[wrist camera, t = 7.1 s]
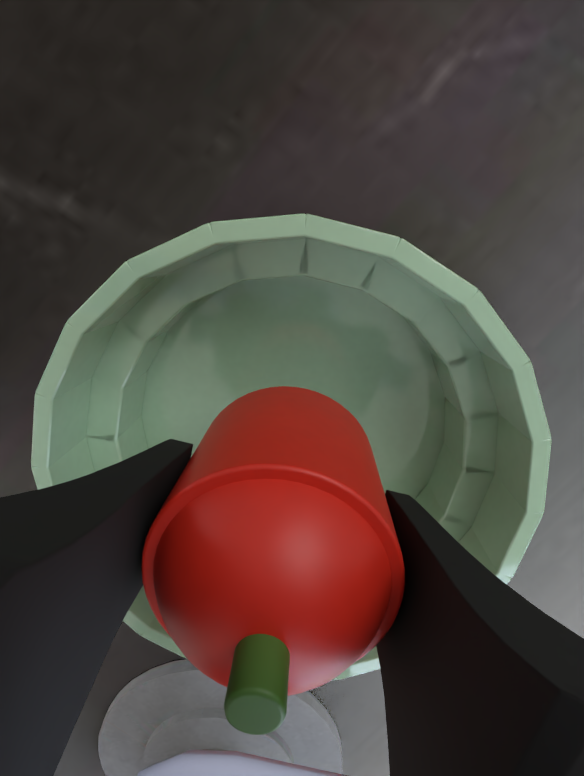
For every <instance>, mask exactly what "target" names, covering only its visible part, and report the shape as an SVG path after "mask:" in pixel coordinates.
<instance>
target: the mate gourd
mask: <svg viewBox="0 0 584 776" xmlns="http://www.w3.org/2000/svg"><path fill="white" fill-rule="evenodd" d="M226 691H227V687H225V686H223V685H221V684H219V683H217V682H216V681H214V680H212V679H211V678H209V677H208V676H206V675H205V674H204V673H202V672H201V671H200V670H198V669H197V668H196V667H195V666H194V665H193V664H192V663H191V662H190V661H189V660H188V659H185V660H178V661H172V662H169V663H166V664H164V665H161V666H158V667H155V668H152V669H150V670H148V671H146V672H145V673H143V674H141V675H139V676H138V677H136V678H134V679H133V680H132V681H131V682H129V683H128V684H127V685H126V686H125V687H124V688H123V689H122V690H121V691H120V692H119V693H118V694H117V696H116V698H115V699H114V701H113V702H112V704H111V705H110V707H109V709H108V711H107V713H106V716H105V718H104V720H103V724H102V727H101V730H100V733H99V743H98V753H99V757H100V761H101V765H102V769H103V771H104V773H105V775H106V776H137V775H138V773H139V772H140V771H141V770H143V769H145V768H147V767H149V766H151V765H153V764H155V763H158V762H160V761H163V760H165V759H168V758H170V757H173V756H175V755H177V754H180V753H182V752H185V751H187V750H212V751H238V752H242V753H247V754H252V755H256V756H261V757H265V758H270V759H274V760H279V761H284V762H288V763H293V764H297V765H302V766H306V767H311V768H315V769H320V770H325V771H329V772H334V773H338V774H342V746H341V740H340V737H339V733H338V730H337V727H336V724H335V723H334V721H333V719H332V718H331V716H330V714H329V713H328V711H327V709H326V708H325V707H324V706H323V705H322V704H321V703H320V702H319V701H318V700H317V698H316V697H315V696H314V695H313V694H312V693H310V692H309V691H305V692H303V693H299V694H295V695H290V696H288V697H287V713H286V717H285V719H284V721H283V723H282V725H281V726H280V727H279V728H278V729H277V730H275V731H273V732H271V733H268V734H264V735H251V734H246V733H243V732H241V731H239V730H237V729H235V728H234V727H233V726H232V725H231V724H230V723H229V722H228V720H227V719H226V716H225V712H224V701H225V696H226Z"/></svg>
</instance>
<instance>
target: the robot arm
mask: <svg viewBox="0 0 584 776" xmlns="http://www.w3.org/2000/svg"><path fill="white" fill-rule="evenodd" d="M192 448H193V444H191V443H187V442H183V441H178V440H174V439H169V440H166V441H164V442H162V443H159V444H157V445H155V446H153V447H151V448H149V449H147V450H145V451H143V452H141V453H138V454H136V455H134V456H132V457H130V458H128V459H125V460H123V461H121V462H119V463H116V464H114V465H111V466H109V467H106V468H103V469H101V470H98V471H96V472H93V473H91V474H88V475H86V476H83V477H80V478H77V479H74V480H71V481H67V482H64V483H61V484H57V485H54V486H50V487H47V488H43V489H39V490H34V491H30V492H25V493H20V494H16V495H11V496H6V497H1V498H0V776H53V775H54V772H55V770H56V768H57V765H58V763H59V761H60V758H61V756H62V754H63V751H64V749H65V747H66V744H67V742H68V740H69V737H70V735H71V733H72V730H73V728H74V726H75V723H76V721H77V719H78V717H79V714H80V712H81V710H82V708H83V705H84V703H85V701H86V699H87V696H88V694H89V692H90V690H91V687H92V685H93V683H94V681H95V678H96V676H97V674H98V672H99V669H100V667H101V665H102V663H103V661H104V659H105V656H106V654H107V652H108V650H109V648H110V645H111V643H112V641H113V639H114V637H115V635H116V633H117V631H118V629H119V627H120V625H121V623H122V621H123V619H124V617H125V615H126V614H127V612H128V610H129V609H130V607H131V605H132V603H133V602H134V600H135V598H136V596H137V595H138V593H139V591H140V590H141V588H142V586H143V580H142V567H141V565H142V552H143V547H144V543H145V539H146V536H147V534H148V531H149V529H150V526H151V524H152V522H153V521H154V519H155V517H156V516H157V514H158V512H159V511H160V509H161V507H162V506H163V504H164V502H165V501H166V499H167V497H168V496H169V494H170V492H171V490H172V489H173V487H174V485H175V484H176V482H177V480H178V479H179V477H180V475H181V474H182V472H183V470H184V469H185V467H186V465H187V464H188V462H189V460H190V459H191V454H192ZM385 497H386V500H387V504H388V507H389V510H390V514H391V517H392V521H393V524H394V528H395V531H396V535H397V538H398V542H399V545H400V548H401V552H402V556H403V562H404V567H405V586H404V594H403V599H402V602H401V605H400V608H399V612H398V614H397V616H396V618H395V620H394V622H393V624H392V626H391V628H390V629H389V631H388V632H387V633H386V635H385V636H384V638H383V639H382V640H381V641H380V642H379V643H378V644H377V645H376V647H377V652H378V658H379V663H380V669H381V674H382V682H383V689H384V697H385V710H386V722H387V734H388V749H389V765H390V776H584V639H583V638H582V637H580V636H578V635H577V634H575V633H574V632H572V631H571V630H569V629H568V628H566V627H565V626H563V625H562V624H560V623H559V622H557V621H556V620H554V619H553V618H551V617H550V616H548V615H547V614H545V613H544V612H542V611H541V610H540V609H538V608H537V607H535V606H534V605H533V604H531V603H530V602H529V601H527V600H526V599H525V598H523V597H522V596H521V595H519V594H518V593H517V592H516V591H514V590H513V589H512V588H510V587H509V586H508V585H506V584H505V583H504V582H503V581H501V580H500V579H499V578H498V577H497V576H495V575H494V574H493V573H492V572H491V571H489V570H488V569H487V568H486V567H485V566H484V565H483V564H482V563H480V562H479V561H478V560H477V559H476V558H475V557H474V556H472V555H471V554H470V553H469V552H468V551H467V550H466V549H465V548H464V547H463V546H462V545H461V544H460V543H459V542H458V541H457V540H455V539H454V538H453V537H452V536H451V535H450V534H449V533H448V532H447V531H446V530H445V529H444V528H443V527H442V526H441V525H440V524H439V523H438V522H437V521H436V520H435V519H434V518H433V517H432V516H431V515H430V514H429V513H428V512H427V511H426V510H425V509H424V508H423V507H422V506H421V505H420V504H419V503H418V502H417V501H416V500H415V499H413V498H412V497H411V496H410V495H407V494H403V493H398V492H394V491H390V490H386V493H385ZM137 776H347V775H343V774H338V773H334V772H329V771H325V770H320V769H315V768H311V767H306V766H302V765H297V764H293V763H288V762H284V761H279V760H274V759H270V758H265V757H261V756H256V755H252V754H247V753H242V752H238V751H212V750H187V751H185V752H182V753H180V754H177V755H175V756H173V757H170V758H168V759H165V760H163V761H160V762H158V763H155V764H153V765H151V766H149V767H147V768H145V769H143V770H141V771H140V772H139V773H138V775H137Z"/></svg>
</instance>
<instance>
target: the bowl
mask: <svg viewBox="0 0 584 776" xmlns="http://www.w3.org/2000/svg"><path fill="white" fill-rule="evenodd" d="M279 386H289V387H299V388H305V389H309V390H312V391H315V392H319V393H321V394H323V395H325V396H327V397H330V398H331V399H333V400H334V401H336V402H338V403H339V404H341V405H342V406H343V407H344V408H346V409H347V410H348V411H349V412H350V413H351V414H352V415H353V416H354V417H355V418H356V419H357V421H358V422H359V424H360V425H361V426H362V428H363V430H364V432H365V433H366V435H367V437H368V440H369V443H370V445H371V448H372V452H373V455H374V459H375V462H376V466H377V469H378V472H379V476H380V479H381V483H382V486H383V490H384V493H386V490H390V491H394V492H398V493H403V494H407V495H410V496H411V497H412V498H413V499H415V500H416V501H417V502H418V503H419V504H420V505H421V506H422V507H423V508H424V509H425V510H426V511H427V512H428V513H429V514H430V515H431V516H432V517H433V518H434V519H435V520H436V521H437V522H438V523H439V524H440V525H441V526H442V527H443V528H444V529H445V530H446V531H447V532H448V533H449V534H450V535H451V536H452V537H453V538H454V539H455V540H457V541H458V542H459V543H460V544H461V545H462V546H463V547H464V548H465V549H466V550H467V551H468V552H469V553H470V554H471V555H472V556H474V557H475V558H476V559H477V560H478V561H479V562H480V563H482V564H483V565H484V566H485V567H486V568H487V569H488V570H489V571H491V572H492V573H493V574H494V575H495V576H497V577H498V578H499V579H500V580H501V581H503V582H504V583H505V584H507V583H508V582H509V581H510V580H511V577H513V576H514V574H515V572H516V570H517V568H518V566H519V564H520V561H521V559H522V557H523V555H524V553H525V551H526V549H527V547H528V545H529V543H530V541H531V539H532V537H533V535H534V533H535V531H536V529H537V527H538V524H539V522H540V520H541V518H542V516H543V513H544V508H545V499H546V489H547V480H548V470H549V461H550V451H551V442H552V440H551V434H550V430H549V426H548V423H547V419H546V415H545V411H544V408H543V404H542V400H541V396H540V393H539V389H538V385H537V381H536V378H535V374H534V370H533V367H532V363H531V361H530V359H529V357H528V356H527V354H526V353H525V352H524V350H523V349H522V347H521V346H520V345H519V343H518V342H517V341H516V339H515V338H514V336H513V335H512V334H511V332H510V331H509V330H508V328H507V327H506V325H505V324H504V323H503V321H502V320H501V318H500V317H499V316H498V314H497V313H496V312H495V310H494V309H493V307H492V306H491V305H490V303H489V302H488V301H487V299H486V298H485V296H484V295H483V294H482V292H481V291H479V290H478V288H477V287H475V286H474V285H472V284H471V283H469V282H468V281H466V280H465V279H463V278H462V277H460V276H459V275H457V274H456V273H454V272H453V271H451V270H450V269H448V268H447V267H445V266H444V265H442V264H441V263H439V262H438V261H436V260H435V259H433V258H432V257H430V256H429V255H427V254H426V253H424V252H423V251H421V250H420V249H418V248H417V247H415V246H414V245H412V244H411V243H409V242H408V241H406V240H405V239H403V238H400V237H399V236H395V235H391V234H387V233H383V232H379V231H375V230H371V229H367V228H364V227H360V226H356V225H352V224H348V223H344V222H340V221H336V220H332V219H328V218H324V217H320V216H316V215H312V214H306V215H305V214H304V213H301V214H290V215H279V216H268V217H257V218H246V219H235V220H224V221H213V222H211V223H206V224H204V225H202V226H199V227H197V228H195V229H193V230H191V231H189V232H187V233H184V234H182V235H180V236H178V237H176V238H174V239H172V240H169V241H167V242H165V243H163V244H161V245H159V246H156V247H154V248H152V249H150V250H148V251H146V252H144V253H141V254H139V255H137V256H135V257H133V258H131V259H129V260H128V261H127V262H124V263H123V264H122V265H121V266H120V267H119V268H118V269H117V270H116V271H115V272H114V273H113V274H112V275H111V276H110V277H109V278H108V279H107V280H106V281H105V282H104V283H103V284H102V285H101V286H100V287H99V288H98V289H97V290H96V292H95V293H94V294H93V295H92V296H91V297H90V298H89V299H88V300H87V301H86V302H85V303H84V304H83V305H82V306H81V307H80V308H79V309H78V310H77V311H76V312H75V313H74V314H73V315H72V316H71V317H70V318H69V319H68V320H67V322H66V323H65V326H64V328H63V330H62V333H61V335H60V337H59V339H58V342H57V344H56V346H55V348H54V351H53V353H52V355H51V358H50V360H49V362H48V364H47V367H46V369H45V371H44V373H43V376H42V378H41V380H40V383H39V385H38V387H37V389H36V394H35V399H34V417H33V436H32V454H31V466H32V467H31V469H32V472H33V476H34V479H35V483H36V486H37V490H39V489H43V488H47V487H50V486H54V485H57V484H61V483H64V482H67V481H71V480H74V479H77V478H80V477H83V476H86V475H88V474H91V473H93V472H96V471H98V470H101V469H103V468H106V467H109V466H111V465H114V464H116V463H119V462H121V461H123V460H125V459H128V458H130V457H132V456H134V455H136V454H138V453H141V452H143V451H145V450H147V449H149V448H151V447H153V446H155V445H157V444H159V443H162V442H164V441H166V440H169V439H174V440H178V441H183V442H187V443H191V444H193V448H192V454H191V457H192V455H193V453H194V452H195V450H196V448H197V447H198V445H199V443H200V442H201V440H202V438H203V437H204V435H205V433H206V432H207V430H208V428H209V427H210V425H211V423H212V422H213V420H214V419H215V418H216V417H217V416H218V414H219V413H220V412H221V411H222V410H223V409H224V408H226V407H227V406H228V405H229V404H230V403H232V402H233V401H235V400H236V399H238V398H240V397H242V396H244V395H246V394H248V393H251V392H253V391H256V390H259V389H264V388H269V387H279ZM123 622H124V623H126V624H127V625H128V626H129V627H130V628H131V629H133V630H134V631H135V632H136V633H137V634H138V635H140V636H141V635H142V637H143V638H145V639H147V640H149V641H151V642H153V643H155V644H157V645H159V646H161V647H163V648H165V649H167V650H169V651H171V652H173V653H175V654H177V655H179V656H182V657H184V658H186V657H185V656H184V654H183V653H182V652H181V650H180V649H179V648H178V646H177V645H176V644H175V642H174V641H173V639H172V638H171V637H170V636H169V635H168V634H167V632H166V631H165V630H164V628H163V627H162V626H161V624H160V623H159V622H158V620H157V618H156V617H155V615H154V613H153V611H152V610H151V607H150V605H149V602H148V600H147V597H146V594H145V590H144V586H142V588H141V590H140V591H139V593H138V595H137V596H136V598H135V600H134V602H133V603H132V605H131V607H130V609H129V610H128V612H127V614H126V615H125V617H124V619H123ZM186 659H187V658H186ZM379 669H380V663H379V658H378V652H377V647H376V646H375V647H374V648H373V649H372V650H371V651H370V652H368V653H367V654H366V655H365V656H364V657H362V658H361V659H359V660H358V661H356V662H354V663H353V664H352V665H351V666H350V667H348V668H347V669H346V670H345V671H344V672H342V673H341V674H340V675H338V676H337V677H336V678H334V679H332V680H341V679H344V678H348V677H352V676H356V675H360V674H363V673H367V672H371V671H375V670H379Z"/></svg>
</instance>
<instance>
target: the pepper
mask: <svg viewBox="0 0 584 776" xmlns="http://www.w3.org/2000/svg"><path fill="white" fill-rule="evenodd" d="M141 567H142V580H143V586H144V590H145V594H146V597H147V600H148V602H149V605H150V607H151V610H152V611H153V613H154V615H155V617H156V618H157V620H158V622H159V623H160V624H161V626H162V627H163V628H164V630H165V631H166V632H167V634H168V635H169V636H170V637H171V638H172V639H173V641H174V642H175V644H176V645H177V646H178V648H179V649H180V650H181V652H182V653H183V654H184V656H185V657H186V658H187V659H188V660H189V661H190V662H191V663H192V664H193V665H194V666H195V667H196V668H197V669H198V670H200V671H201V672H202V673H204V674H205V675H206V676H208V677H209V678H211V679H212V680H214V681H216V682H217V683H219V684H221V685H223V686H225V687H227V691H226V696H225V701H224V712H225V716H226V719H227V720H228V722H229V723H230V724H231V725H232V726H233V727H234V728H235V729H237V730H239V731H241V732H243V733H246V734H251V735H264V734H268V733H271V732H273V731H275V730H277V729H278V728H279V727H280V726H281V725H282V723H283V721H284V719H285V717H286V713H287V697H288V696H290V695H295V694H299V693H303V692H305V691H308V690H311V689H314V688H317V687H319V686H321V685H323V684H325V683H328V682H329V681H331V680H332V679H334V678H336V677H337V676H338V675H340V674H341V673H342V672H344V671H345V670H346V669H347V668H348V667H350V666H351V665H352V664H353V663H354V662H356V661H358V660H359V659H361V658H362V657H364V656H365V655H366V654H367V653H368V652H370V651H371V650H372V649H373V648H374V647H375V646H376V645H377V644H378V643H379V642H380V641H381V640H382V639H383V638H384V636H385V635H386V633H387V632H388V631H389V629H390V628H391V626H392V624H393V622H394V620H395V618H396V616H397V614H398V612H399V608H400V605H401V602H402V599H403V594H404V586H405V567H404V562H403V556H402V552H401V548H400V545H399V542H398V538H397V535H396V531H395V528H394V524H393V521H392V517H391V514H390V510H389V507H388V504H387V500H386V497H385V493H384V490H383V486H382V483H381V479H380V476H379V472H378V469H377V466H376V462H375V459H374V455H373V452H372V448H371V445H370V443H369V440H368V437H367V435H366V433H365V432H364V430H363V428H362V426H361V425H360V424H359V422H358V421H357V419H356V418H355V417H354V416H353V415H352V414H351V413H350V412H349V411H348V410H347V409H346V408H344V407H343V406H342V405H341V404H339V403H338V402H336V401H334V400H333V399H331V398H330V397H327V396H325V395H323V394H321V393H319V392H315V391H312V390H309V389H305V388H299V387H289V386H279V387H269V388H264V389H259V390H256V391H253V392H251V393H248V394H246V395H244V396H242V397H240V398H238V399H236V400H235V401H233V402H232V403H230V404H229V405H228V406H227V407H226V408H224V409H223V410H222V411H221V412H220V413H219V414H218V416H217V417H216V418H215V419H214V420H213V422H212V423H211V425H210V427H209V428H208V430H207V432H206V433H205V435H204V437H203V438H202V440H201V442H200V443H199V445H198V447H197V448H196V450H195V452H194V453H193V455H192V457H191V459H190V460H189V462H188V464H187V465H186V467H185V469H184V470H183V472H182V474H181V475H180V477H179V479H178V480H177V482H176V484H175V485H174V487H173V489H172V490H171V492H170V494H169V496H168V497H167V499H166V501H165V502H164V504H163V506H162V507H161V509H160V511H159V512H158V514H157V516H156V517H155V519H154V521H153V522H152V524H151V526H150V529H149V531H148V534H147V536H146V539H145V543H144V547H143V552H142V565H141Z"/></svg>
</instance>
